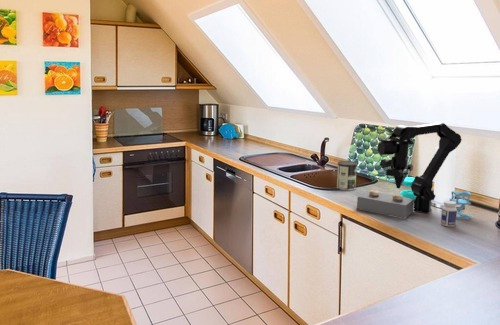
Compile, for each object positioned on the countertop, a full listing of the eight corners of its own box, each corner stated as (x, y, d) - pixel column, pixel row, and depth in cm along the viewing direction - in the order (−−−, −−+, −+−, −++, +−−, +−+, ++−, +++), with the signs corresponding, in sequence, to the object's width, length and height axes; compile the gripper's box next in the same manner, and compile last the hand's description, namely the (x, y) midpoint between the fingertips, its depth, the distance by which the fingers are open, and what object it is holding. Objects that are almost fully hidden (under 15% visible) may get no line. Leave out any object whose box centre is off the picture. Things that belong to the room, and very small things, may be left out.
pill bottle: (456, 224, 183) (458, 201, 181) (454, 228, 178) (457, 204, 176) (441, 221, 185) (443, 199, 183) (439, 225, 181) (441, 202, 179)
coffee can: (354, 185, 242) (356, 161, 239) (356, 190, 232) (357, 165, 229) (336, 185, 244) (337, 160, 241) (336, 189, 234) (338, 164, 231)
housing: (412, 211, 198) (413, 199, 197) (404, 218, 189) (405, 205, 188) (366, 202, 211) (367, 191, 210) (356, 208, 202) (357, 196, 201)
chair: (463, 213, 197) (465, 187, 194) (471, 219, 189) (474, 192, 186) (445, 213, 197) (448, 187, 195) (453, 219, 189) (456, 192, 186)
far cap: (379, 204, 203) (380, 191, 202) (376, 207, 200) (377, 193, 199) (370, 203, 206) (371, 189, 205) (367, 205, 203) (367, 191, 201)
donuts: (400, 176, 224) (420, 177, 221) (398, 194, 226) (418, 196, 223) (402, 180, 214) (423, 182, 212) (400, 200, 216) (421, 201, 214)
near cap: (403, 209, 197) (404, 195, 196) (400, 211, 193) (401, 197, 192) (393, 207, 200) (394, 193, 198) (390, 210, 196) (391, 196, 195)
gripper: (390, 149, 203) (387, 181, 206) (375, 155, 189) (372, 189, 192) (414, 152, 197) (411, 185, 200) (401, 158, 182) (398, 194, 185)
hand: (398, 188), depth 194 cm, fingers closed
